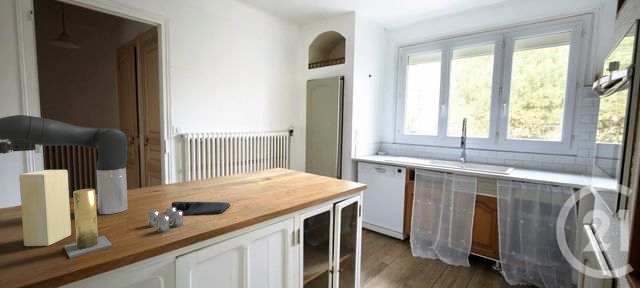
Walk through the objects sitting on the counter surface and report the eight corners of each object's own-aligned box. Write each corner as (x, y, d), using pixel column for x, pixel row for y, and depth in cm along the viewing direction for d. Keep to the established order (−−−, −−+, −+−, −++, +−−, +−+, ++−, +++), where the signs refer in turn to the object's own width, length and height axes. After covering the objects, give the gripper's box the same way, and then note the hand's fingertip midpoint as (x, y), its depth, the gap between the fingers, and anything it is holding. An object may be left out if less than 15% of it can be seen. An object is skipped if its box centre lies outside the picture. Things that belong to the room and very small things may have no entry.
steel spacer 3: (167, 224, 93) (166, 210, 93) (165, 221, 96) (165, 208, 95) (177, 222, 95) (177, 208, 95) (175, 220, 98) (175, 206, 97)
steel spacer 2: (156, 231, 87) (156, 216, 87) (167, 228, 90) (166, 214, 89) (160, 234, 85) (160, 219, 85) (171, 231, 88) (170, 216, 87)
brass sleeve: (75, 245, 75) (71, 190, 74) (96, 239, 79) (93, 187, 77) (78, 250, 72) (74, 194, 71) (99, 244, 76) (96, 190, 74)
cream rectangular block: (47, 234, 83) (42, 169, 81) (72, 234, 84) (68, 169, 82) (20, 246, 75) (15, 174, 73) (48, 246, 76) (43, 174, 74)
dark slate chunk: (223, 217, 102) (222, 205, 102) (164, 217, 101) (164, 205, 100) (233, 205, 118) (233, 194, 117) (182, 205, 116) (182, 194, 116)
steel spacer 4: (171, 225, 92) (170, 212, 92) (180, 223, 94) (180, 209, 94) (174, 228, 90) (174, 214, 90) (184, 225, 92) (184, 211, 92)
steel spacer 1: (147, 226, 91) (146, 212, 91) (157, 223, 94) (156, 209, 94) (150, 228, 89) (149, 214, 89) (160, 225, 92) (160, 211, 92)
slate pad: (64, 247, 75) (64, 245, 75) (104, 237, 82) (104, 235, 82) (69, 258, 69) (69, 256, 69) (112, 246, 76) (111, 244, 76)
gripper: (-89, 132, 51) (35, 131, 63) (-75, 129, 60) (31, 129, 72) (-85, 170, 51) (37, 161, 64) (-72, 162, 60) (33, 156, 73)
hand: (34, 144), depth 68 cm, fingers open, 8 cm apart
